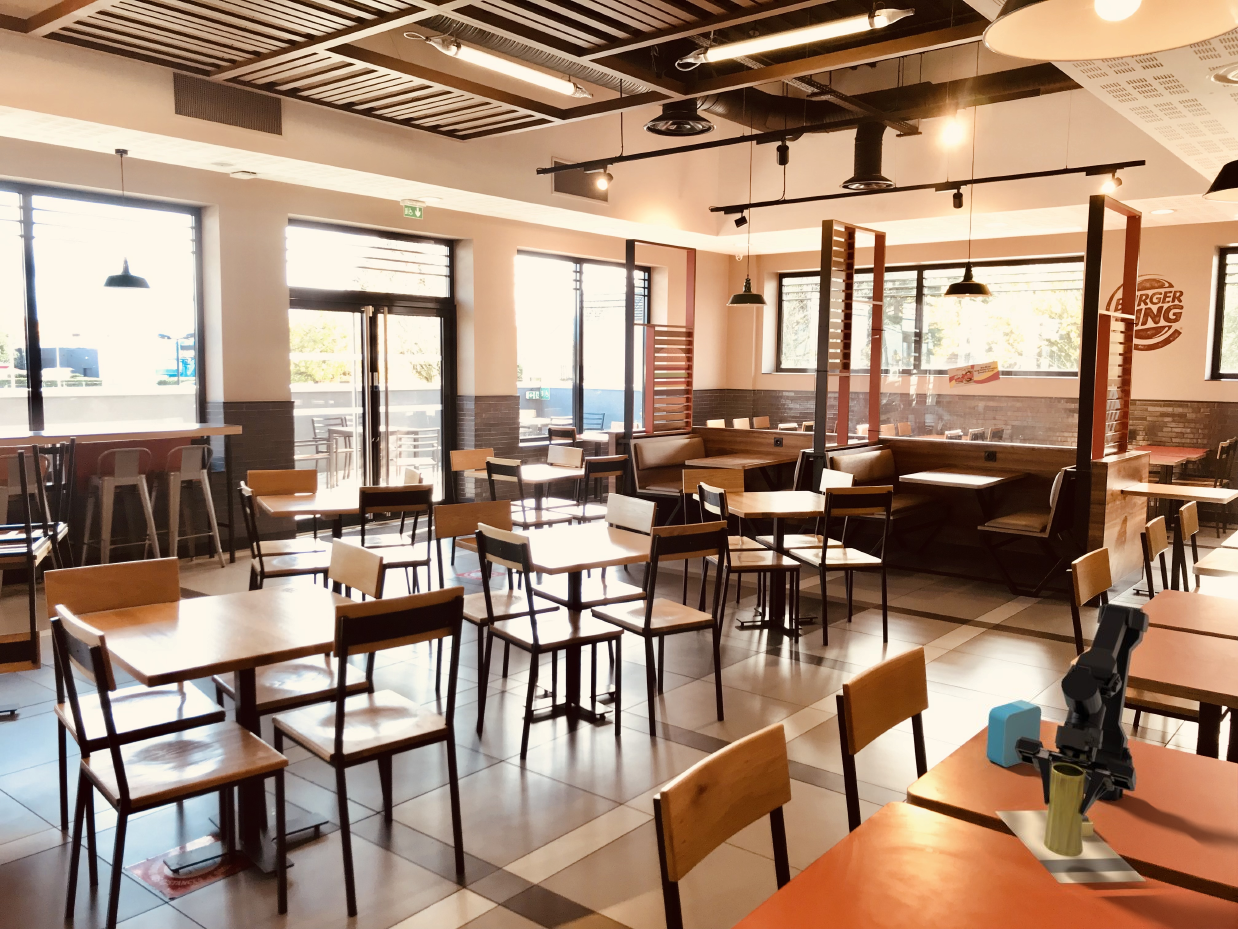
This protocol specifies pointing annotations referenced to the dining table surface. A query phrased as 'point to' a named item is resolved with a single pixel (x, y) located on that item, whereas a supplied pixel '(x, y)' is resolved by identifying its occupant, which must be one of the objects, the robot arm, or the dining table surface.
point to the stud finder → (1087, 826)
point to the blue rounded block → (1011, 730)
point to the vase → (1065, 810)
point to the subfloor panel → (1084, 868)
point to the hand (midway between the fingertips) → (1063, 809)
